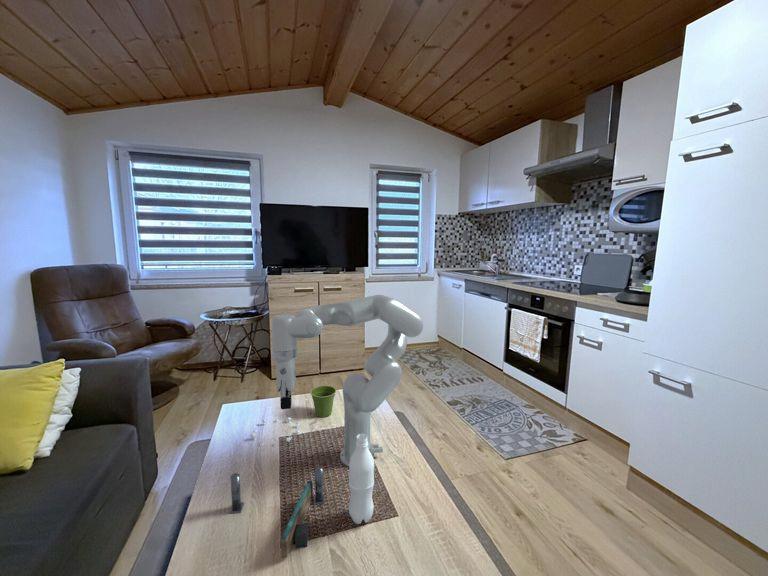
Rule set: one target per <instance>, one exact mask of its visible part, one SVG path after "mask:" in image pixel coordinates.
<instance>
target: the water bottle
mask: <svg viewBox="0 0 768 576" xmlns="http://www.w3.org/2000/svg"><path fill="white" fill-rule="evenodd" d="M348 467H349V471H348V472H349V478H348V479H349V480H348V487H349V490H350V498H349V504H348V513H349V514H348V515H349V517H350V518H351V519H352V521H353V523H355V524H357V525H360V524H362V521H363V522H364V523H365V524H366V523H368V522H370V520H371V519H372V517H373V514H374V507H375V505H374V502H373V491H374V486H375V478H374V477H375V475H374V474H375V461H374V459H373V457H372V455H371V453H370V451H369V449H368V441H367V435H366V434H358V435H357V441H356V449H355V451H354V453H353V454H352V456H351V458H350V462H349V466H348Z"/></svg>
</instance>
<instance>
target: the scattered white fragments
mask: <svg viewBox="0 0 768 576" xmlns="http://www.w3.org/2000/svg"><path fill="white" fill-rule="evenodd" d="M286 419H287V422H286V423H287V424H290V423H292V421H291V420H292V417H286ZM266 421H267V420H266V418H263V419H262V426H265V425H266ZM275 422H276V423H278V422H279V419H278V418H276V419H275ZM299 426H300V421H297V422H296V423H295V424H294V425H293V426H292V427H294V428H298V427H299ZM254 428H255V430H254V431H253V432H252V433H251V434H250V438H252V441H255V440H256V439H257V435H256V434H257V427H254ZM300 434H301V432H300V429H296V430H295V435H296V436H298V435H300ZM292 435H293V432H291V433H290V435H289V436H288V437H285V442H290V441H292V439H293V436H292ZM266 437H267V436H264V437H263V441H262V443H261V442H260V443H259V446H260V447H262V446H264V444H265V443H264V442H265V439H266ZM273 440H274V442H273V443H272V447H274V448H276V447H278V446H279V443H278V442H277V437H274V439H273Z"/></svg>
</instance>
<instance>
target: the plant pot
mask: <svg viewBox="0 0 768 576" xmlns="http://www.w3.org/2000/svg"><path fill="white" fill-rule="evenodd" d="M309 393H310V396H311V398H312V401H313V406H314V412H315V415H316V416H317V417H319V418H327V417H328V416H331V415H332V412H333V406H334V399H335V396H336V393H337V389H336V387H334V386H332V385H326V384H325V385H318V386H315V387H313V388H312V389H311V390H310V392H309Z"/></svg>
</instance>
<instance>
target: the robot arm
mask: <svg viewBox="0 0 768 576" xmlns="http://www.w3.org/2000/svg"><path fill="white" fill-rule="evenodd" d="M374 320H379V321H382V322H385V323H386V324H387V328H388V330H387V335H386V337H385V338H384V340H383V341H382V343H381V344H380V345H379V346H378V347H377V348H376V349H375V350H374V351H373V353H372V354H371V355H370V356H369V357H368V359H367V360H366V362H365V364H364V369H365V372H366V373H367V374H368V375H369V377H371V378H370V379H369V378H368V377H367V376H365V375H364V374H361V373H358V372H353V373H351V374H349V375H347V376H346V377H345V380H344V381H343V384H342V397H343V398H342V399H343V404H344V405H343V406H344V417H343V418H344V425H343V426H344V431H343V432H344V434H343V437H344V438H343V439H344V440H343V441H344V444H343V445H344V447H343V448H342V450H340V453H339V457H340V458H339V460H340V461H341V463H342V464H343V465H344V466H346V467H349V462H350V458H351V456H352V454H353V453H354V451H355V449H356V441H357V435H358V434H366V435H367V441H368V449H369V451H370V453H371V455H372V457H373V459H374V458H375V454H377V453H378V454H380V453H381V454H382V453H384V452H383V451H384V449H383V446H379V444H378V443H375V444H373V443H371V418H372V417H371V416H372V414H371V413H373V412H374V411H376V409H378V408H379V407H380V406H381V405H382V404H383V403H384V402H385V401H386V399H387V398H388V397H389V396H390V394H391V393H392V392H393V391H394V390H395V389H396V387H397V386H398V384H399V383H400V382H401V379H402V375H403V370H402V367H401V365H400V364H399V363H398V360H399V359H400V358H401V357H402V356H403V354H404V352H405V351H406V349H407V345H408V338H415V337H418V336H420V334H422V332H423V329H424V321H423V319H422V318H421V316H419V315H418V314H417V313H416V312H414V311H412V310H411V309H409V308H408V307H407V306H405V305H404V304H402V303H401V302H399V301H398V300H396V299H394V298H393V297H389V296H387V295H384V294H374V295H370V296H366V297H362V298H358V299H353V300H349V301H344V302H334V303H327V304H319V305H314V306H309V307H307V308H303V309H301V310H299V311H297V312H296V313H295V314H286V313H285V314H279V315H275V316H274V317H272V319H271V339H272V340H271V345H272V346H271V347H272V348H271V349H272V350H271V351H272V361H274V362H276V364H275V365H276V368H275V370H276V371H275V375H276V376H275V379H276V380H275V381H276V382H275V383H276V392H277V393H280V399H279V400H280V409H281V410H291V409H292V394H291V393H292V392H293V391H294V390H295V386H296V382H297V378H296V377H297V376H296V359H297V358H298V339H314V338H316V337H318V336H319V335H321V334H322V332H323V330H324V329H323V328H324V326H326V325H328V326H329V325H339V326H344V327H352V326H356V325H361V324H363V323H368V322H371V321H374Z"/></svg>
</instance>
